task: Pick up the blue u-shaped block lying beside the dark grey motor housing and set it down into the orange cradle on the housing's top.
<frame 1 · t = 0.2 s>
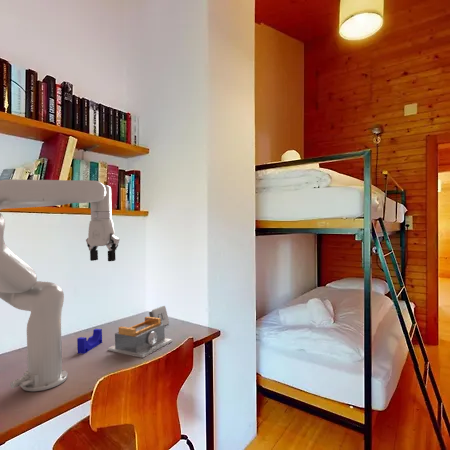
hand: (102, 260, 122), 36 cm above the table, tool pointing down, fingers open, 9 cm apart
electrical switch: (159, 326, 154), on the table
motor housing: (140, 345, 128), on the table
blue u-shaped block: (88, 348, 128), on the table
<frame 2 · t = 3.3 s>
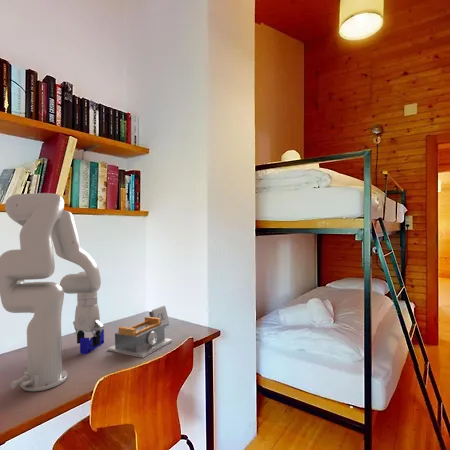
hand: (88, 343, 128), 1 cm above the table, tool pointing down, fingers open, 8 cm apart
blue u-shaped block: (91, 348, 128), on the table, touching gripper
everything else where it was.
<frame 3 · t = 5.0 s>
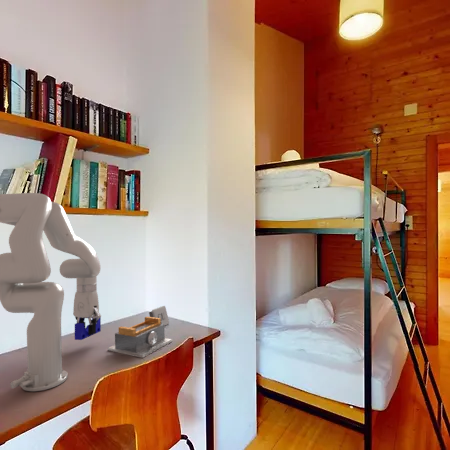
hand: (86, 333, 127), 6 cm above the table, tool pointing down, fingers closed on blue u-shaped block, 5 cm apart
blue u-shaped block: (86, 335, 127), point 5 cm above the table, touching gripper
everything else where it was.
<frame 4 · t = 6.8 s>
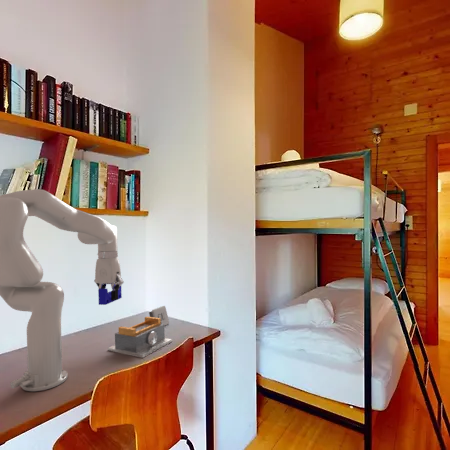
hand: (109, 299, 129), 20 cm above the table, tool pointing down, fingers closed on blue u-shaped block, 5 cm apart
blue u-shaped block: (109, 301, 128), point 18 cm above the table, touching gripper
everything else where it was.
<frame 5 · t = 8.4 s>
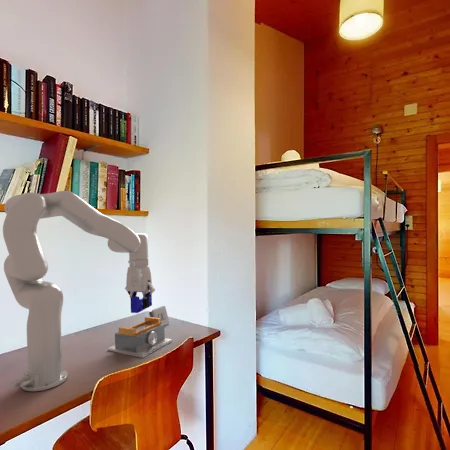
hand: (140, 306, 129), 16 cm above the table, tool pointing down, fingers closed on blue u-shaped block, 5 cm apart
blue u-shaped block: (140, 309, 129), point 15 cm above the table, touching gripper
everything else where it was.
when the fingers open (9 cm above the table, at t = 9.9 s): blue u-shaped block stays where it is, resting on motor housing.
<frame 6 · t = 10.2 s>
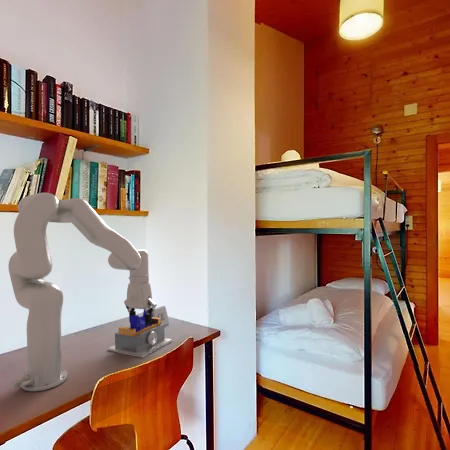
hand: (140, 322, 128), 10 cm above the table, tool pointing down, fingers open, 7 cm apart
blue u-shaped block: (140, 327, 128), point 8 cm above the table, touching motor housing
everything else where it was.
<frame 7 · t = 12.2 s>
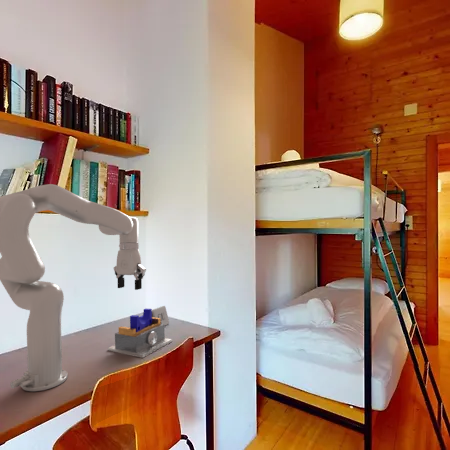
hand: (129, 288, 129), 24 cm above the table, tool pointing down, fingers open, 9 cm apart
nothing on the table moved.
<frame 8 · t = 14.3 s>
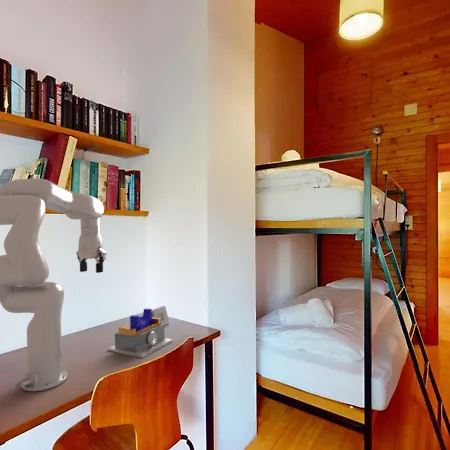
hand: (91, 271, 133), 30 cm above the table, tool pointing down, fingers open, 9 cm apart
nothing on the table moved.
at the end: blue u-shaped block 0.2 cm off-centre on the motor housing, point 7.6 cm above the motor housing's base; blue u-shaped block tilted 0°; the gripper is holding nothing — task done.
